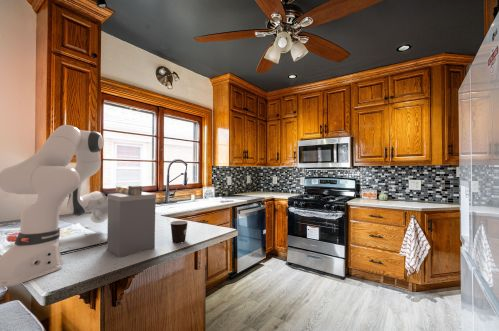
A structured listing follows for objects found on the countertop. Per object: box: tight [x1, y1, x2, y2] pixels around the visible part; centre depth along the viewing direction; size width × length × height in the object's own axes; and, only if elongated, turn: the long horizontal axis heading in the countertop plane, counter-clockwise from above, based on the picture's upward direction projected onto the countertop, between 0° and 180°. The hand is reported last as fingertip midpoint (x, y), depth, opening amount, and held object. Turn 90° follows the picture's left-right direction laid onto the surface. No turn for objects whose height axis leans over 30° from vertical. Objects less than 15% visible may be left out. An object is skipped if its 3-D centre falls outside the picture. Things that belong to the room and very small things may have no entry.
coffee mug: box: [170, 220, 188, 244], centre depth 125 cm, size 12×9×10 cm
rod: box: [115, 185, 143, 195], centre depth 118 cm, size 21×4×4 cm, turn 49°
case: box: [106, 191, 157, 258], centre depth 114 cm, size 14×16×26 cm
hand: (114, 197), depth 128 cm, fingers open, 8 cm apart
